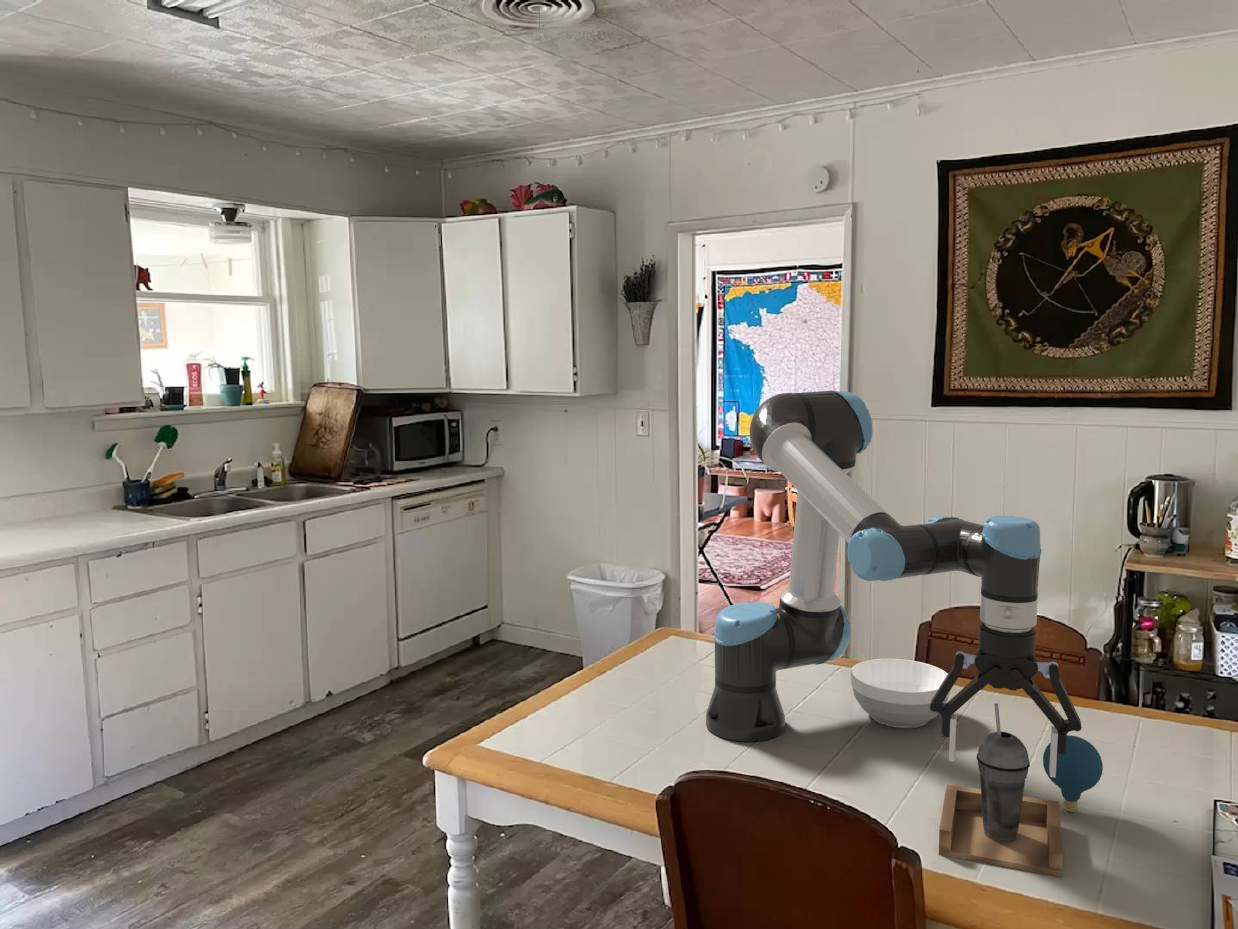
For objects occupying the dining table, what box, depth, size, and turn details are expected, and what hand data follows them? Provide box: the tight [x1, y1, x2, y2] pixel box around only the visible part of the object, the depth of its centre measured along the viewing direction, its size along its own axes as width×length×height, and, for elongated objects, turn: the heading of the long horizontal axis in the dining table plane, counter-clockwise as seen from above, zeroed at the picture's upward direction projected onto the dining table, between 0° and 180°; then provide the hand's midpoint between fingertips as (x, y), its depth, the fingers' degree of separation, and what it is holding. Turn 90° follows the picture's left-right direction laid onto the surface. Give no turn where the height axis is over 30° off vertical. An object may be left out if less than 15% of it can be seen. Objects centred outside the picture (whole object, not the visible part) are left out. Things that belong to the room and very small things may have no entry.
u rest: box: [938, 783, 1064, 878], centre depth 138 cm, size 16×15×4 cm
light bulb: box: [1042, 735, 1104, 813], centre depth 145 cm, size 8×8×12 cm
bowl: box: [850, 658, 951, 729], centre depth 183 cm, size 19×19×9 cm
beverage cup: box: [976, 703, 1031, 843], centre depth 137 cm, size 7×7×20 cm
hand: (1001, 765), depth 137 cm, fingers open, 13 cm apart
